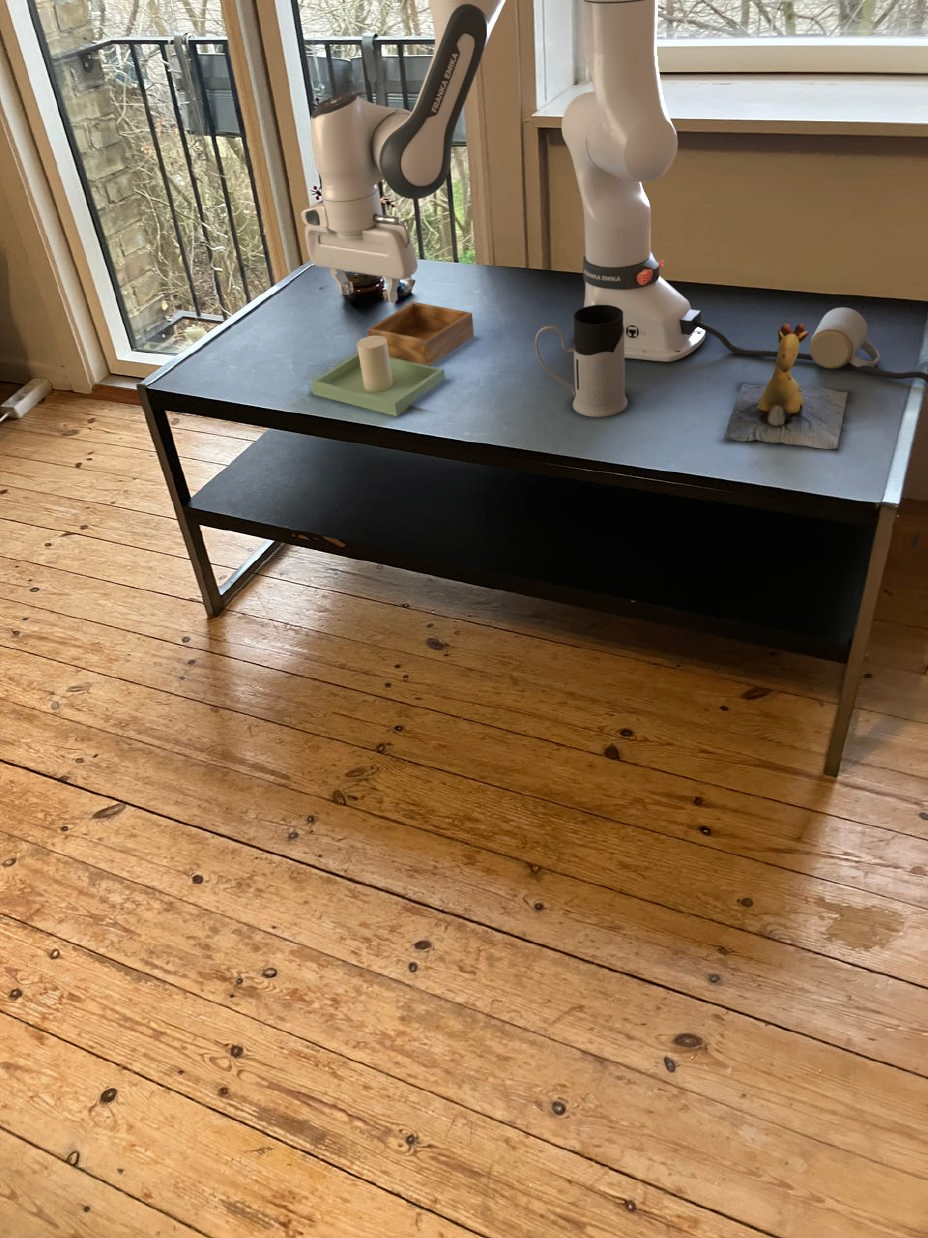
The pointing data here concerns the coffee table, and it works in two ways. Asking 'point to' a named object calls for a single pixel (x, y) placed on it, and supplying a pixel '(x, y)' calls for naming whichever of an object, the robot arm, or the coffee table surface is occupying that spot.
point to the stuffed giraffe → (787, 405)
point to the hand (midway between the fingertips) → (369, 297)
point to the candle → (375, 363)
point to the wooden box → (424, 332)
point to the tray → (406, 389)
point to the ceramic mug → (841, 340)
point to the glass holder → (596, 360)
